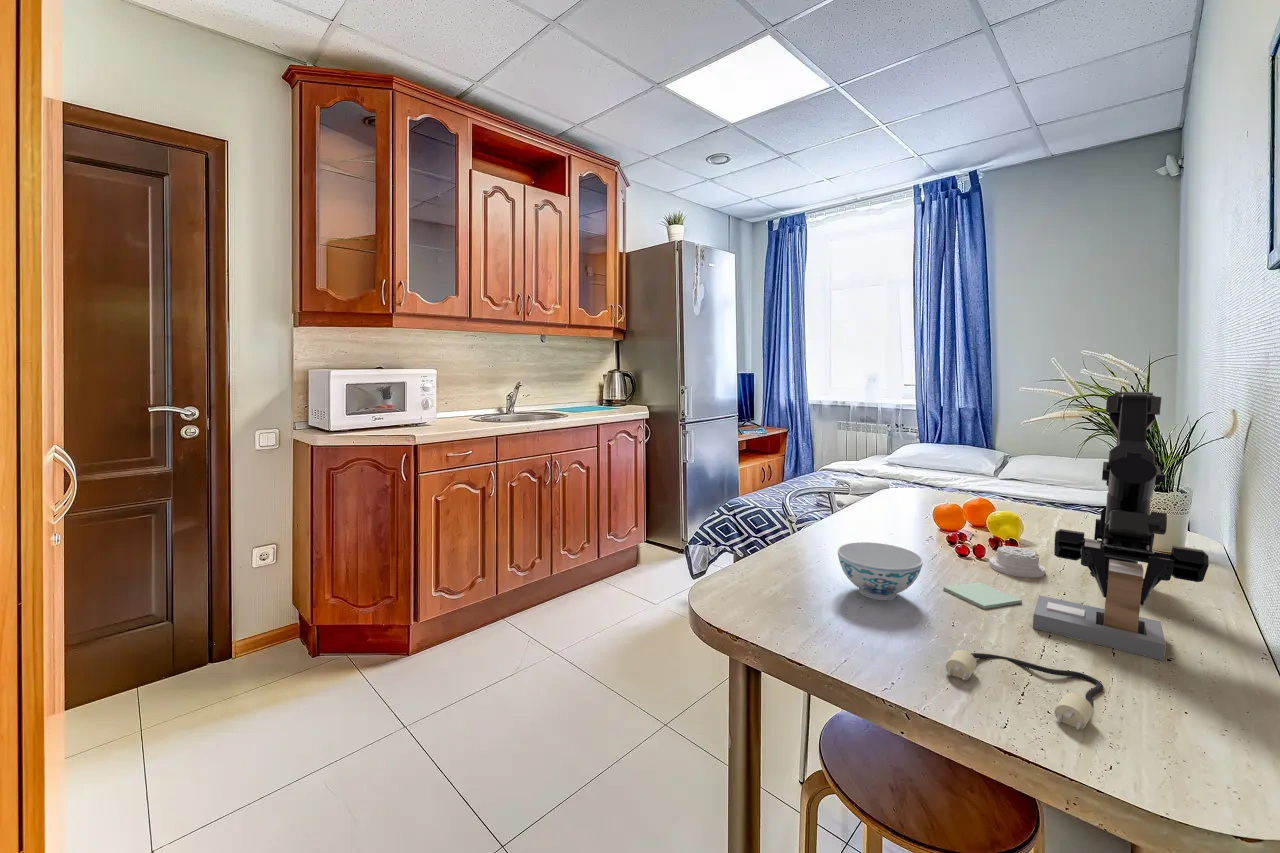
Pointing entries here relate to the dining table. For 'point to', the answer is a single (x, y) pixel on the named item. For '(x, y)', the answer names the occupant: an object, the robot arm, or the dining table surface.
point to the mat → (982, 595)
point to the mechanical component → (1017, 562)
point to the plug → (1123, 595)
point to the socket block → (1097, 627)
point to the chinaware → (879, 568)
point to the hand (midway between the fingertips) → (1122, 600)
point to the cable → (1071, 705)
